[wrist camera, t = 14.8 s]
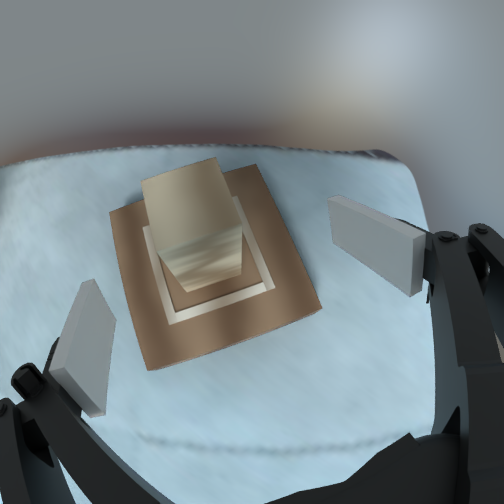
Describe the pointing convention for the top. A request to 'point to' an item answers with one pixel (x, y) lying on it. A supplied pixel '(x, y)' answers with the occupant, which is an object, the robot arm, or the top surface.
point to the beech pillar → (195, 224)
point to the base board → (218, 294)
